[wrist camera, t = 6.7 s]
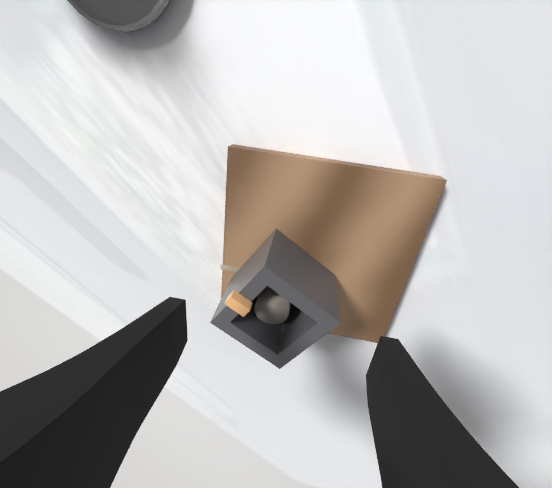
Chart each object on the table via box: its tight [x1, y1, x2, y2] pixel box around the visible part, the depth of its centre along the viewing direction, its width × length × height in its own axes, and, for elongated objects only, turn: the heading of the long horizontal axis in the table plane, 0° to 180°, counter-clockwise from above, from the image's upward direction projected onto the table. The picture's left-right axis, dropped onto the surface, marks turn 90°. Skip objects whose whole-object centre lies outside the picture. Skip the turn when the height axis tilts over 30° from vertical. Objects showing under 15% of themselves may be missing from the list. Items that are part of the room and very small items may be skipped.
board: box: [221, 145, 447, 343], centre depth 17 cm, size 12×12×4 cm
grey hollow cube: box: [210, 229, 340, 369], centre depth 17 cm, size 5×5×5 cm
